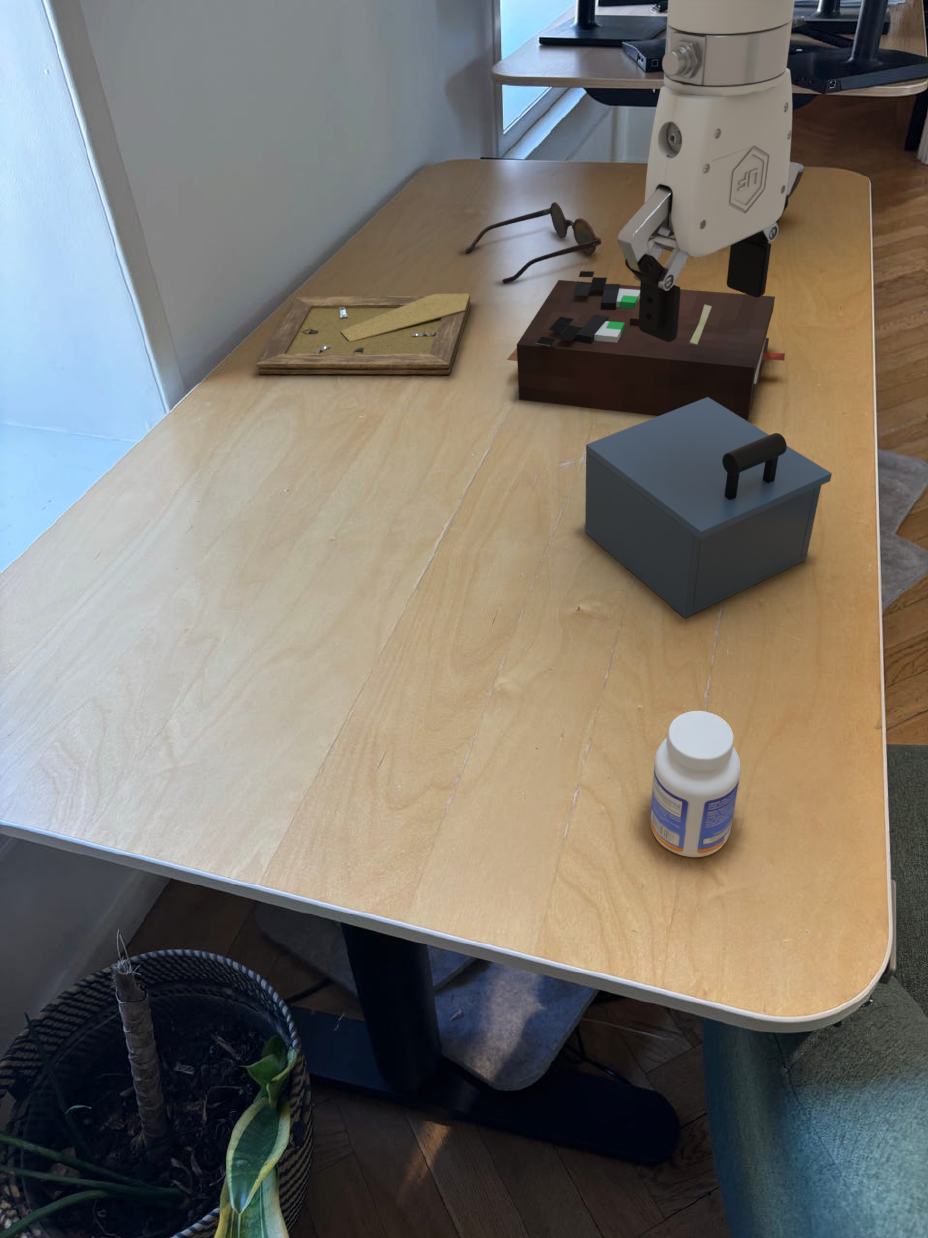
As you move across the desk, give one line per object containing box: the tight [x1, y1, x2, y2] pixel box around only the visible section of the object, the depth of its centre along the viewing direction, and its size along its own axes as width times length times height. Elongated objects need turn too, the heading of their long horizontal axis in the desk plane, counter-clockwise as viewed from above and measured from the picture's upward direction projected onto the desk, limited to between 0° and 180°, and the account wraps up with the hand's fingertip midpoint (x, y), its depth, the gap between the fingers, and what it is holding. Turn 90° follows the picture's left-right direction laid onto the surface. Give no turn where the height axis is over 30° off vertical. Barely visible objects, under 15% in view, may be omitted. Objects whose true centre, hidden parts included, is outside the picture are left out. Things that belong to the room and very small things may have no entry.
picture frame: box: [256, 293, 472, 375], centre depth 125 cm, size 19×2×24 cm
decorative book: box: [506, 270, 786, 422], centre depth 112 cm, size 19×8×30 cm
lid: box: [585, 397, 832, 539], centre depth 83 cm, size 15×14×5 cm
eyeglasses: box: [465, 201, 602, 284], centre depth 140 cm, size 15×15×5 cm
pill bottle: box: [649, 710, 742, 858], centre depth 65 cm, size 5×5×10 cm
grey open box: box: [584, 452, 822, 619], centre depth 87 cm, size 15×14×9 cm
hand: (702, 312), depth 73 cm, fingers open, 9 cm apart
